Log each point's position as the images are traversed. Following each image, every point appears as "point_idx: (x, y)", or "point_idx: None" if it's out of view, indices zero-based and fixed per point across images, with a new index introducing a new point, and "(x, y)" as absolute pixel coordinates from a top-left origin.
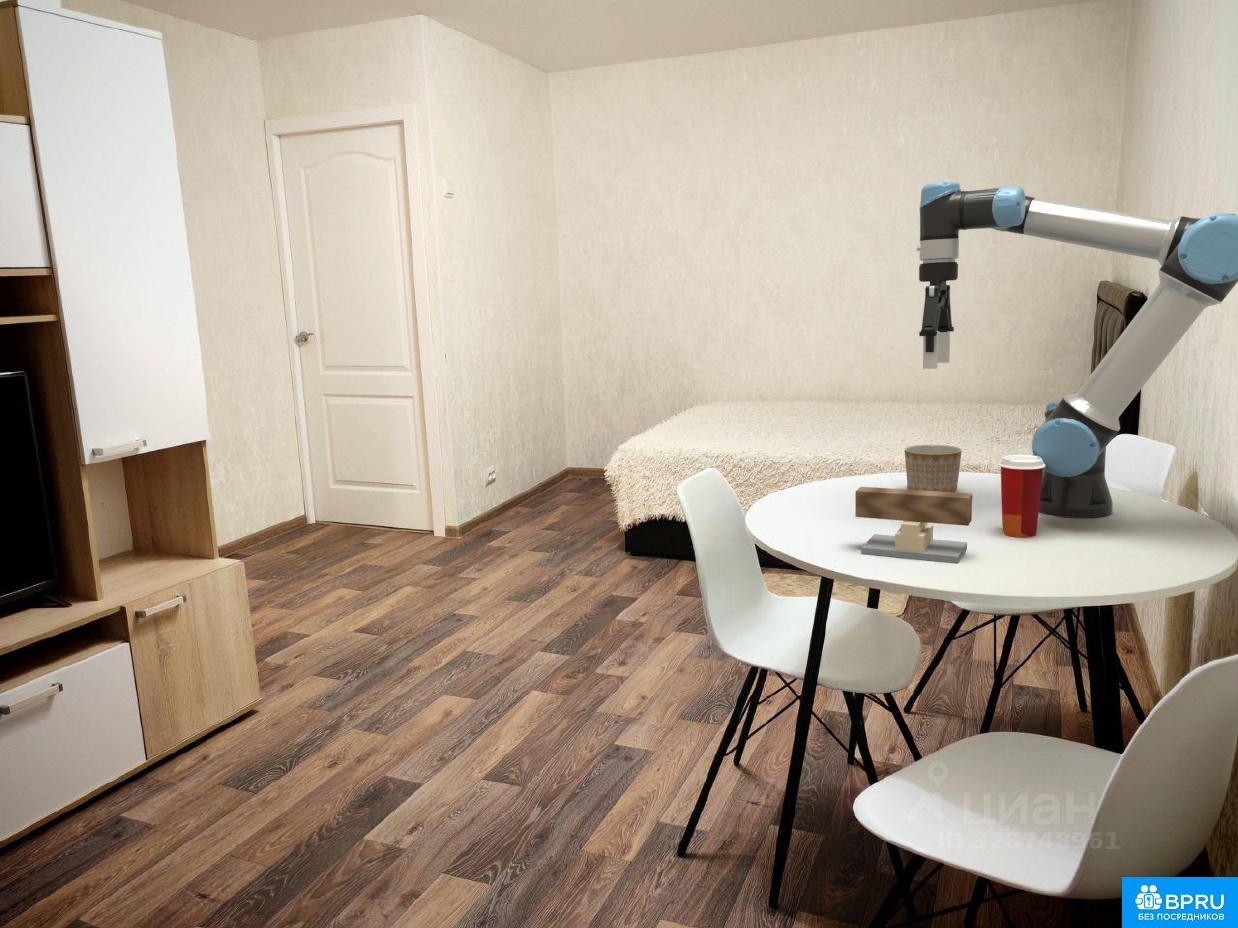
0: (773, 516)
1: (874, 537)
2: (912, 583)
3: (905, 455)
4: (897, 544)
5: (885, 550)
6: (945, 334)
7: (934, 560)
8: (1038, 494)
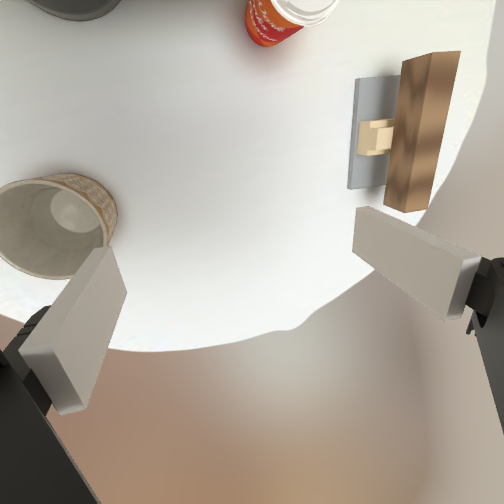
0: (290, 308)
1: (363, 184)
2: (474, 103)
3: None
4: None
5: None
6: (68, 352)
7: None
8: None
